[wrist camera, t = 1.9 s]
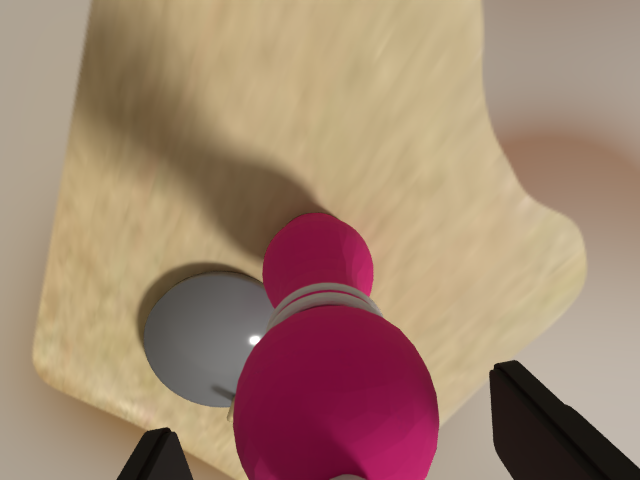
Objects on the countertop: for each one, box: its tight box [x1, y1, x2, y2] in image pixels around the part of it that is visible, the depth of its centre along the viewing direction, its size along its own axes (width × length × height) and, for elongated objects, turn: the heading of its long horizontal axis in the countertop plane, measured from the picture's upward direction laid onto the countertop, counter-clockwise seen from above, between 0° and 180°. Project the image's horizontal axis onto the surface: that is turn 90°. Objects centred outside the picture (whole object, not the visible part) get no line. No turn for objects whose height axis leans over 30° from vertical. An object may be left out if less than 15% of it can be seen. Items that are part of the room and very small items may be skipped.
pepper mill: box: [233, 213, 439, 480], centre depth 15 cm, size 7×7×20 cm
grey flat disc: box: [144, 271, 275, 422], centre depth 25 cm, size 12×12×3 cm
